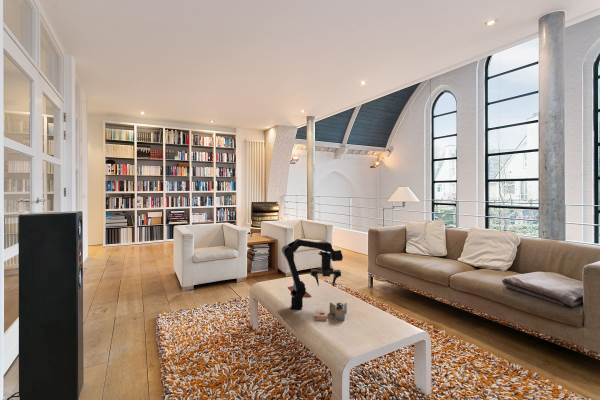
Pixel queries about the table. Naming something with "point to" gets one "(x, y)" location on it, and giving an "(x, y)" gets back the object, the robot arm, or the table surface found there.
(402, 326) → the table surface
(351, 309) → the table surface
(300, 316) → the table surface
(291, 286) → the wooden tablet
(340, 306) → the hinge pin
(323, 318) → the pin holder
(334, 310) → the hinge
